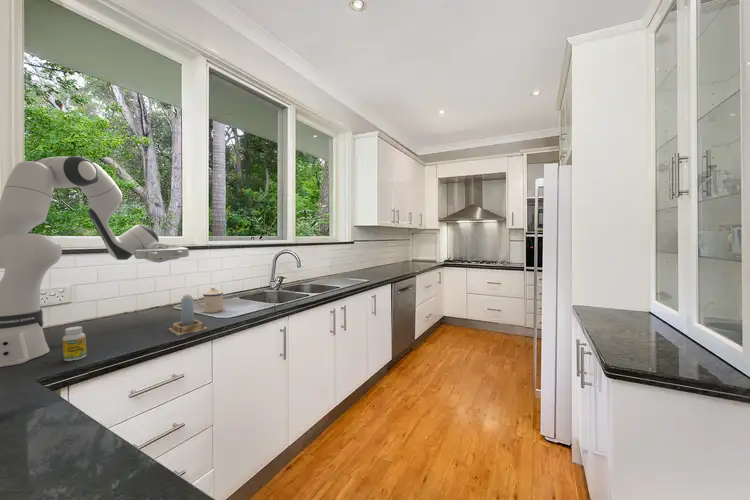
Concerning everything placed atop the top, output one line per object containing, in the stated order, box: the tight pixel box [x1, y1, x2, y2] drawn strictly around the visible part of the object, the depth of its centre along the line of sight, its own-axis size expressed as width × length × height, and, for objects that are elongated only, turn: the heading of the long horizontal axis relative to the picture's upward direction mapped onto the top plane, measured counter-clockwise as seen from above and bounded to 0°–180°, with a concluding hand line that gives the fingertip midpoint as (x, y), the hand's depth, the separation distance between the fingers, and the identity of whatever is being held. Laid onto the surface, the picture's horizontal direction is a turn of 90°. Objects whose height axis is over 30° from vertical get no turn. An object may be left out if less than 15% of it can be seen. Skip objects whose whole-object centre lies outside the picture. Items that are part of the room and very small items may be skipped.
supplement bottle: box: [62, 326, 87, 362], centre depth 106 cm, size 5×5×10 cm
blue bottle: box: [180, 293, 195, 327], centre depth 136 cm, size 4×4×14 cm
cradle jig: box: [168, 318, 208, 336], centre depth 136 cm, size 11×11×3 cm
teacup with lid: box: [196, 286, 224, 314], centre depth 168 cm, size 12×9×12 cm
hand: (167, 254), depth 143 cm, fingers open, 8 cm apart
